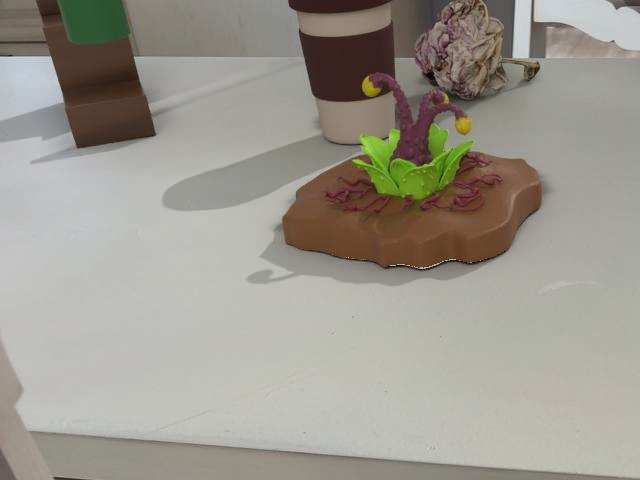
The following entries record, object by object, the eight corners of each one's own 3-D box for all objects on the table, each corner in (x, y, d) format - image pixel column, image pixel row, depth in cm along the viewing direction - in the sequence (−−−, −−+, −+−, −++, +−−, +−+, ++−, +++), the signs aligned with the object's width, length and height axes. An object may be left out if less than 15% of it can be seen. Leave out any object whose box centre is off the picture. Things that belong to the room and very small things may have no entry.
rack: (156, 135, 105) (124, 12, 98) (77, 148, 103) (38, 24, 96) (143, 102, 115) (113, -12, 107) (70, 114, 113) (35, -2, 105)
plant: (359, 167, 94) (341, 35, 87) (563, 182, 88) (562, 41, 81) (251, 256, 80) (219, 107, 73) (485, 280, 74) (475, 120, 67)
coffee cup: (346, 114, 107) (324, -50, 97) (427, 123, 103) (412, -47, 93) (290, 144, 100) (260, -28, 91) (374, 155, 96) (352, -24, 87)
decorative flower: (510, 25, 115) (389, 14, 108) (558, -18, 106) (429, -33, 99) (521, 119, 116) (402, 114, 109) (570, 84, 107) (443, 76, 100)
